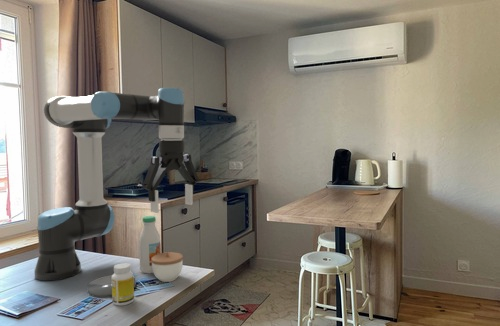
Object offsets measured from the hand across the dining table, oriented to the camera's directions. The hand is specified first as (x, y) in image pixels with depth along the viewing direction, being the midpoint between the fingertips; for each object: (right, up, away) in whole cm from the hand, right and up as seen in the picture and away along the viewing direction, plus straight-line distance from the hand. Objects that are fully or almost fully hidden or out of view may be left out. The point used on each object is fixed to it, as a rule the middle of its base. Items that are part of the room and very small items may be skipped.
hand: (172, 208), depth 116 cm
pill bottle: (-14, -28, -4) cm, 31 cm away
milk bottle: (-13, -26, +23) cm, 37 cm away
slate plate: (-21, -27, +7) cm, 35 cm away
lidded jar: (-5, -27, +14) cm, 31 cm away
